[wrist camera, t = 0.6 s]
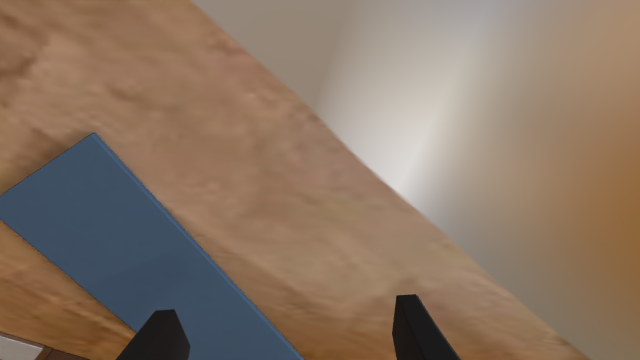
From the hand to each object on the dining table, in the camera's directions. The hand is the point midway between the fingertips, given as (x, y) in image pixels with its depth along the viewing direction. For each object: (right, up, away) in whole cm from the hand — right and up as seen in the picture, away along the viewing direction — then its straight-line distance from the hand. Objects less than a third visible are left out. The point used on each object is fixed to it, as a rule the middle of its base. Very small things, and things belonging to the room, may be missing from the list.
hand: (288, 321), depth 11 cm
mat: (-10, -4, +13) cm, 16 cm away
